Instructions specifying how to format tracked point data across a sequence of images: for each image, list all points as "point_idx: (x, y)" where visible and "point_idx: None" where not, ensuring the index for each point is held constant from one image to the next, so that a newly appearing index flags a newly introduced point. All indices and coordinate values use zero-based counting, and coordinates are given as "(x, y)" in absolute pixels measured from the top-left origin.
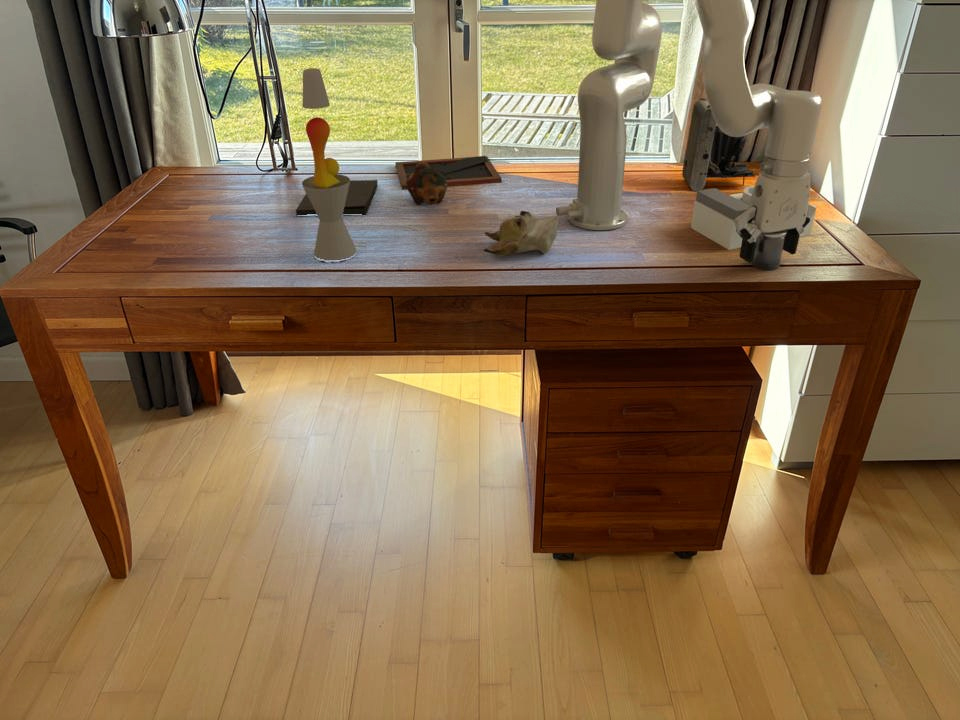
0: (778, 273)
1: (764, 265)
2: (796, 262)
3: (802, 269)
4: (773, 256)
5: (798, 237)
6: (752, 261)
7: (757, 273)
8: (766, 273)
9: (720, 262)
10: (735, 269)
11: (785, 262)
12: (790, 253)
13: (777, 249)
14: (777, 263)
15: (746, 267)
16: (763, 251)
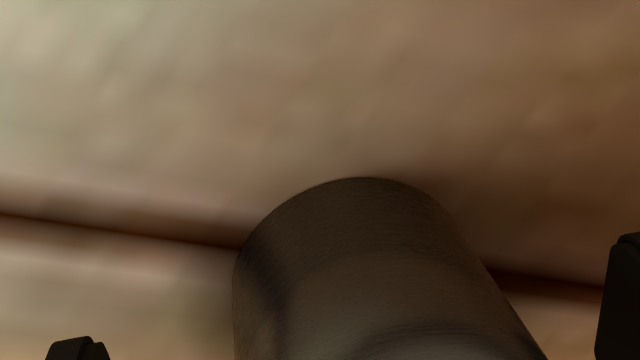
0: (349, 98)
1: (445, 220)
2: (36, 282)
3: (44, 132)
4: (418, 262)
5: None
6: (631, 234)
7: (532, 140)
8: (457, 123)
9: None
10: None
11: (146, 296)
12: (106, 354)
13: (409, 326)
14: (324, 217)
15: (530, 260)
16: (532, 337)
